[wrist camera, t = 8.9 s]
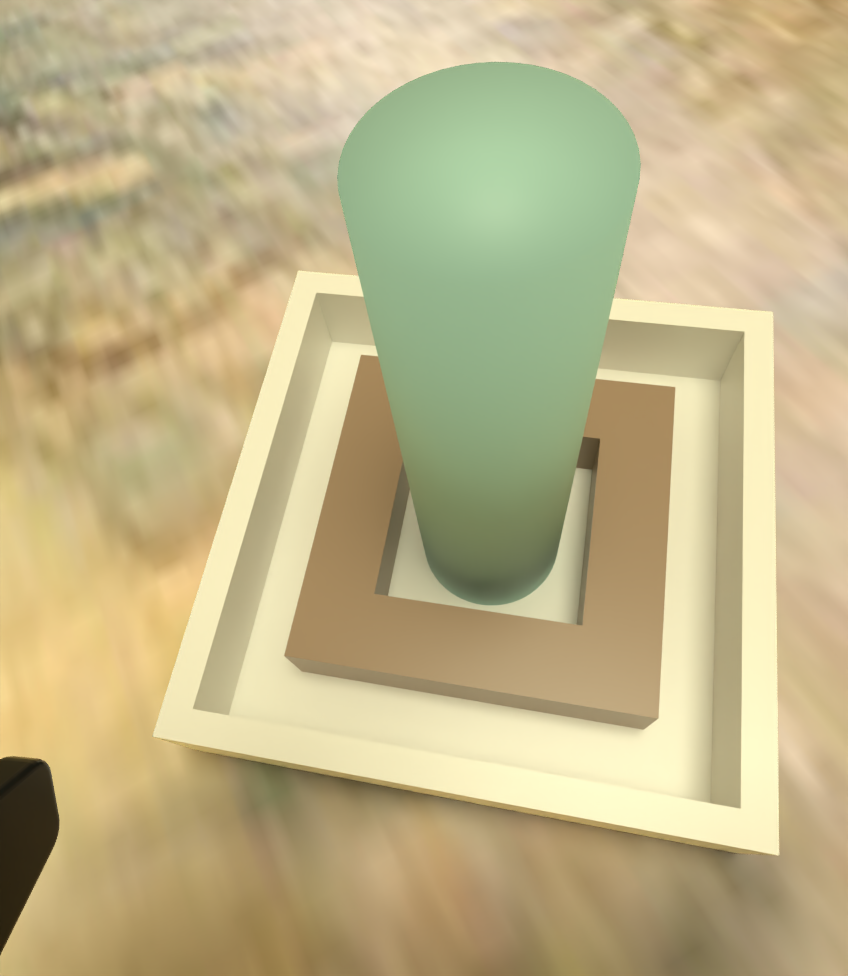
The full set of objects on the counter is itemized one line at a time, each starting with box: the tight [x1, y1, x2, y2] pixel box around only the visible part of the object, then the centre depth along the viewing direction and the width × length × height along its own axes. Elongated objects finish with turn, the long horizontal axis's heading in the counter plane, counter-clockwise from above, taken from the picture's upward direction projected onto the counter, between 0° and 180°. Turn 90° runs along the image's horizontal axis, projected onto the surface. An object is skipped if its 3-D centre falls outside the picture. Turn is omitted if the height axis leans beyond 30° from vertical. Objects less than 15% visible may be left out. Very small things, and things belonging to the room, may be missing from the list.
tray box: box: [152, 271, 779, 855], centre depth 22 cm, size 15×15×3 cm
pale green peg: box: [337, 62, 641, 605], centre depth 16 cm, size 4×4×14 cm
